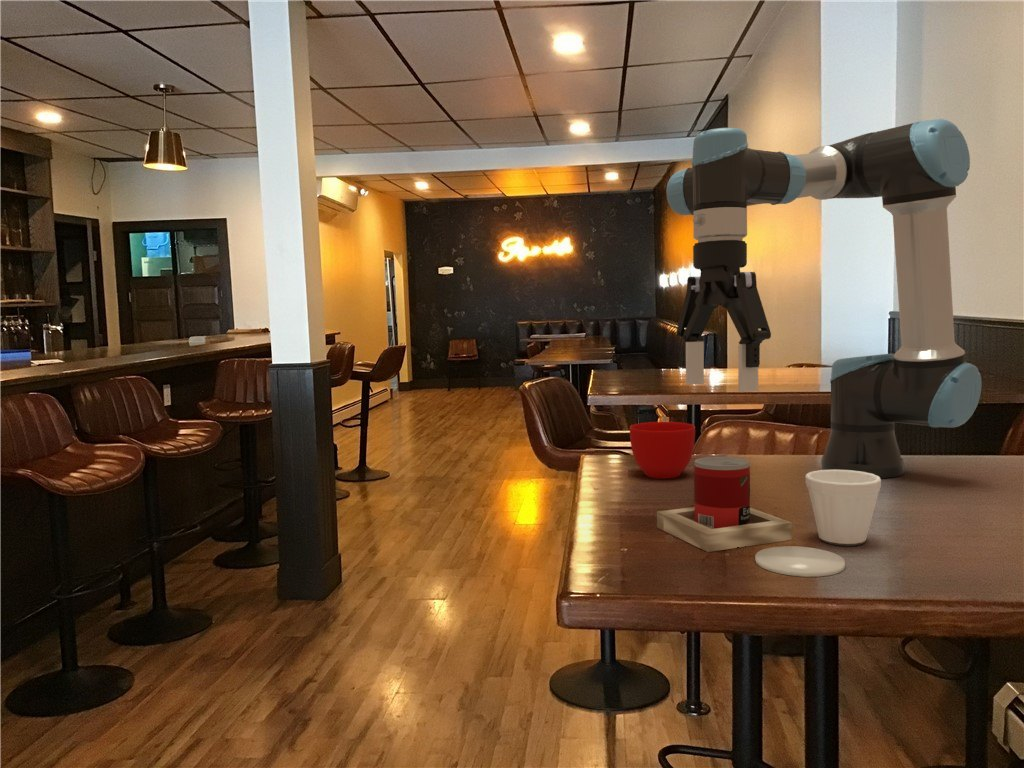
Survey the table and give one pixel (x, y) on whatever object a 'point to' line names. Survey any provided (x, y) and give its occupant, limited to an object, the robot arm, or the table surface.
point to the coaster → (800, 561)
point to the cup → (843, 504)
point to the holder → (724, 530)
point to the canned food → (722, 491)
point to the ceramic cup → (662, 447)
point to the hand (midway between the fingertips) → (720, 387)
